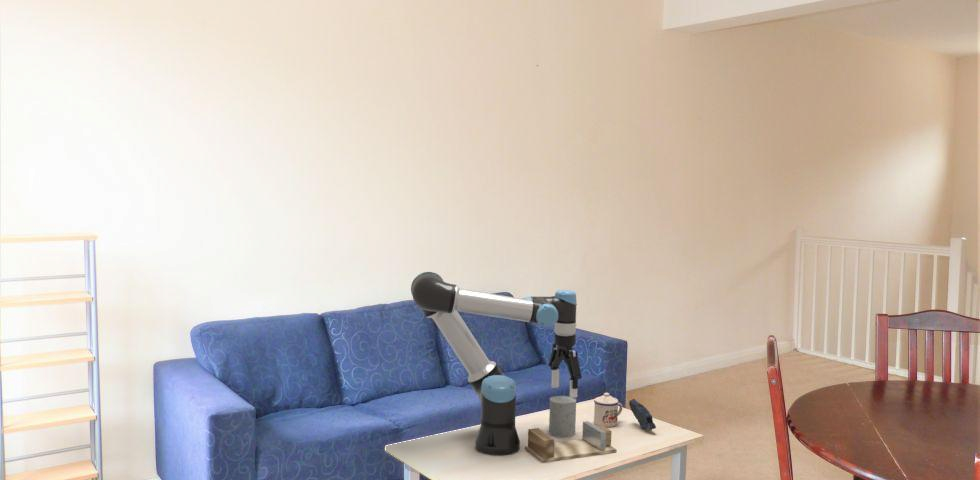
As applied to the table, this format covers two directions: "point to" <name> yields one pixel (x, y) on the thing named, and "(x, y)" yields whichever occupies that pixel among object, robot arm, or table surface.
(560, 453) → the press
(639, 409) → the stone
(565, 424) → the gray cylinder
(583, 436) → the slide jaw
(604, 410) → the teacup with lid
